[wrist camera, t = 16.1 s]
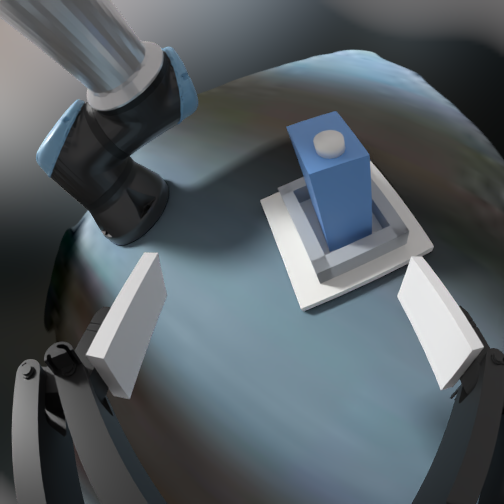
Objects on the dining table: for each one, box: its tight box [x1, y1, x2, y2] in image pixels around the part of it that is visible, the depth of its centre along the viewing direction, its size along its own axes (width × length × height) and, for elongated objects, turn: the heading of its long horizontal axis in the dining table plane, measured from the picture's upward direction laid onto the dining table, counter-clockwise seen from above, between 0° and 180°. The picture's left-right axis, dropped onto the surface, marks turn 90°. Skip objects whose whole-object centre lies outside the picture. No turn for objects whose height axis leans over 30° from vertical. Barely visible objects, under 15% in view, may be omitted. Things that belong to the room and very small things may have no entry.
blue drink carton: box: [287, 111, 372, 252], centre depth 25 cm, size 7×5×13 cm
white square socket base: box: [260, 161, 434, 311], centre depth 30 cm, size 16×16×4 cm
